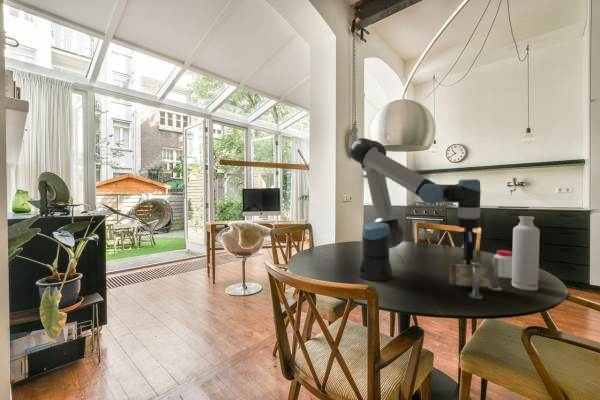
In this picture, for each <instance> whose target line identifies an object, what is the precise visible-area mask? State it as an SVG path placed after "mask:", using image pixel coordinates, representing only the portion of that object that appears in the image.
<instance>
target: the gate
mask: <svg viewBox="0 0 600 400" xmlns="http://www.w3.org/2000/svg"><path fill="white" fill-rule="evenodd" d="M448 276H449V277H448V279H449V281H448V284H450V285H452V286H466V287H467V286H469V287H471V286H472V287H473V266H472V265H464V264H459V263H457V264H456V263H449V275H448ZM491 283H492V265H491V266H490V265H483V264H481V267H480V273H479V287H487V288H488V287H490V285H491Z"/></svg>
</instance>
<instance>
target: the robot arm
mask: <svg viewBox="0 0 600 400" xmlns="http://www.w3.org/2000/svg"><path fill="white" fill-rule="evenodd" d="M349 154H350V157H351V158H352V159H353V161H355V162H357V163H359V164H360V165H361V169H362V171H364V172H365V174H366V179H367V183H368V189H369V192H370V198H371V203H372V207H373V212H374V216H375V219H374V221H373V222H369V223H365V224H364V225H363V227H362V232H361V235H362V237H361V238H362V241H361V242H362V243H361V244H362V248H361V249H362V253H361V254H362V258H361V260H360V261H361V262H360V264H359V267H358V270H357V271H358V276H359V277H360V278H363V279H365V280H369V281H376V282H377V281H378V282H383V281H385V282H387V281H391V280H392V279H393V278H394V270H393V267H392V264H391V262H390V261H391V260H390V249H392V248H395V247H397V246H399V245H400V244H402V242H404V239H405V230H404V228H403V226H402V225H400V223H399V219H398V217H397V216H395V215H394V212H393V206H392V202H391V197H390V193H389V188H388V183H387V180H386V178H388V179H390V180H391V181H393V182H395V183H396V184H398V185H399V186H401V187H403V188H405V189H406V190H408V191H409V192H411V193H413V194H414V195H416V196H418V197H419V198H420V200H421V202H423V203H425V204H428V205H433V204H440V203H455V204H456V203H458V205H457V216H458V218H457V226H458V227H459V228H462V229H463V231H462V232H461V233H462V241H463V242H462V243H463V245H462V246H463V250H462V251H463V252H462V253H463V254H462V255H463V257H462V260H463V265H472V262H473V261H474V246H475V237H476V233H475V232H474V229H479V228H480V226H481V222H480V221H481V219H480V217H481V213H482V209H481V194H482V193H481V192H482V190H481V181H480V180H479V179H478V178H477V179H475V178H474V179H473V178H472V179H459V180H458V182H457V184H440V183H439V184H438V183H435V181H434V182H433V181H432V180H430V179H428V178H426V177H424V175H421V174H419V173H418V172H415V171H414V170H413V169H410V168H409V167H407V166H405V165H403V164H401V163H400V162H398V161H396V160H395V159H392V158H391V157H390V156H387V149H386V147H385V146H384V144H382V143H380V142H379V141H377V140H372V139H368V138H366V137H359V138H358V139H355V140H354V141H353V142H352V144H351V145H350V148H349Z"/></svg>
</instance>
